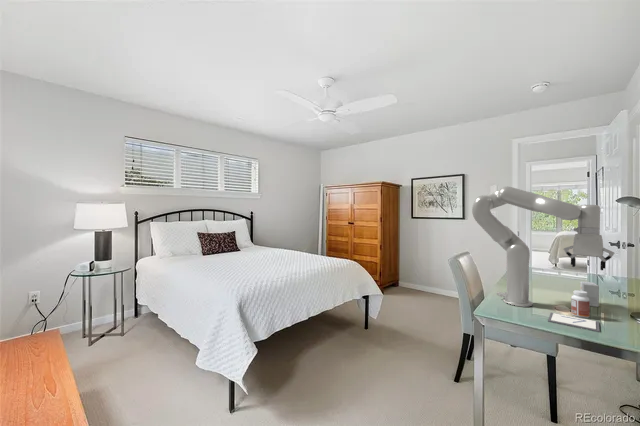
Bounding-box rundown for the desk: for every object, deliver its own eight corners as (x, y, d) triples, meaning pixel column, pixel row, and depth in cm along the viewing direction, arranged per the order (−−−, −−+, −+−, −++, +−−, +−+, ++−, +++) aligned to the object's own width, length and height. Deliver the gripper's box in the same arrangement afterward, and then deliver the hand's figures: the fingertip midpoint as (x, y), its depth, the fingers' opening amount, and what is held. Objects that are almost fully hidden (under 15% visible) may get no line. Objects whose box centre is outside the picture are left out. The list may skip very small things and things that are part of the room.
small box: (598, 307, 143) (599, 286, 143) (583, 305, 146) (583, 284, 145) (594, 302, 149) (594, 282, 149) (580, 301, 152) (580, 281, 152)
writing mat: (547, 321, 125) (547, 319, 125) (550, 313, 134) (550, 311, 134) (599, 332, 114) (599, 330, 114) (598, 322, 123) (598, 320, 123)
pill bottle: (591, 316, 130) (591, 291, 130) (587, 319, 127) (587, 294, 127) (573, 312, 136) (574, 288, 135) (569, 315, 132) (569, 290, 132)
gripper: (562, 230, 138) (561, 266, 139) (614, 233, 125) (613, 272, 126) (565, 229, 143) (565, 264, 144) (615, 232, 130) (614, 270, 131)
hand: (587, 268), depth 135 cm, fingers open, 9 cm apart
